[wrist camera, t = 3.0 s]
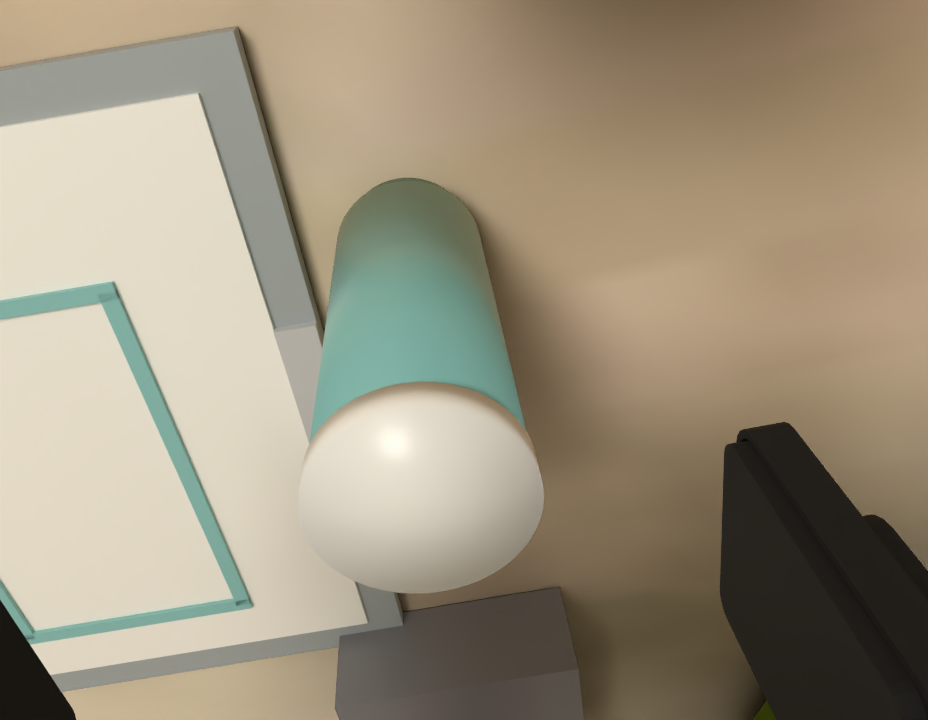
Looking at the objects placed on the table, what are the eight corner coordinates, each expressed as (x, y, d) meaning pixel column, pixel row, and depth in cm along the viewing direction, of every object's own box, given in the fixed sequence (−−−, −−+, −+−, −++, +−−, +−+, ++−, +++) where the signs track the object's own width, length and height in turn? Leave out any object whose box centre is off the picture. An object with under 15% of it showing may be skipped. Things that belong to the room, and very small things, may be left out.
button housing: (340, 622, 25) (334, 708, 23) (559, 586, 25) (578, 668, 23) (384, 749, 29) (383, 834, 26) (575, 718, 29) (593, 801, 26)
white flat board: (-503, 153, 16) (-540, 165, 15) (237, 26, 16) (230, 33, 15) (-56, 698, 26) (-67, 719, 25) (405, 623, 25) (406, 642, 25)
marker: (320, 180, 18) (267, 432, 10) (469, 155, 17) (531, 389, 10) (353, 310, 19) (330, 609, 12) (488, 287, 19) (554, 573, 12)
